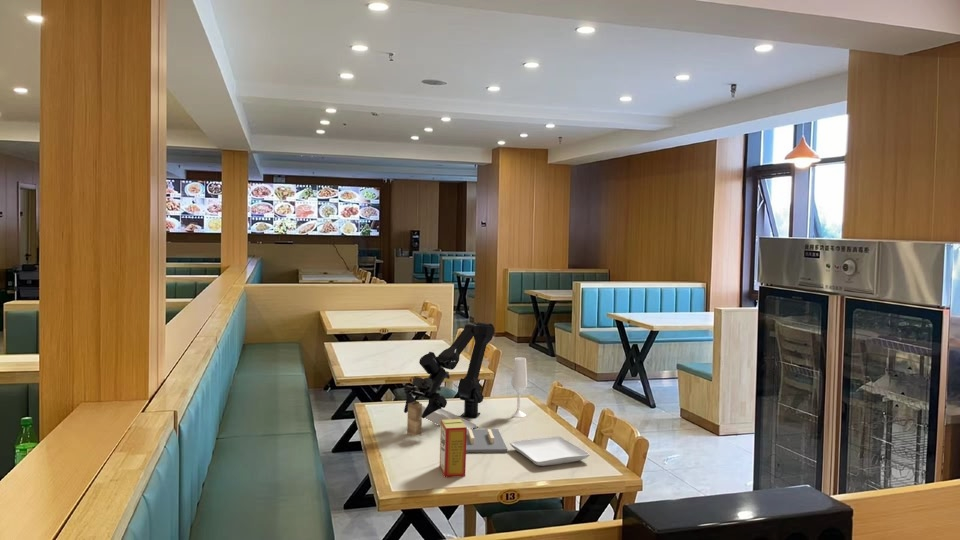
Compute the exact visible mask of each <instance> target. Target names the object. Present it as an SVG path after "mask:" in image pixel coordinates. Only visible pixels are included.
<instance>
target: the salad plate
mask: <svg viewBox="0 0 960 540" xmlns="http://www.w3.org/2000/svg"><path fill="white" fill-rule="evenodd" d="M509 444H510V446H511V448H513V449H514V450H516V451H517V452H518V453H520V454H521V455H523V456H524V457H525V458H527V459H528V460H530V461H531V462H532V463H533V464H535V465H536V466H538V467H539V466H542V467H543V466H544V467H546V466H553V465H554V466H555V465H562V464H568V463H575V462H578V461H582V460H585V459H587V458H589V457H590V456H591V453H589V452H588V451H586V450H585V449H583V448H581V447H580V446H578V445H576V444H574V443H572V442H570V441H569V440H567V439H565V438H564V437H563V436H560V435H559V436H558V435H557V436H546V437H544V436H543V437H537V438H530V439H519V440H514V441H513V440H511V441H509Z"/></svg>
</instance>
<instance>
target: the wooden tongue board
mask: <svg viewBox="0 0 960 540" xmlns="http://www.w3.org/2000/svg"><path fill="white" fill-rule="evenodd" d="M422 405H423V404H422V403H421V402H420V401H418V400H416V402H412V403H408V412H407V422H406V425H407V426H406V427H407V428H406V431H407V432H406V434H407V435H411V436H413V437H416V436H419V435H422V422H423V418H422V417H421V416H422Z"/></svg>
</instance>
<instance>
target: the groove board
mask: <svg viewBox="0 0 960 540" xmlns="http://www.w3.org/2000/svg"><path fill="white" fill-rule="evenodd" d="M468 452H487V454H495V453H496V454H499V453H506V454H507V453H508V447H507V446H506V443H505V441H504V439H503V436H502V435H501V433H500V431H499V429H497V428H493V429H492V428H487V429H484V428H483V429H480V428H479V429H478V428H477V429H476V428H474V429H467V437H466V454H469V453H468Z"/></svg>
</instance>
